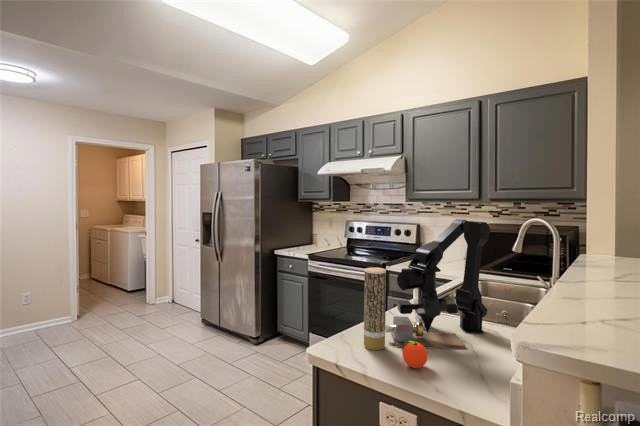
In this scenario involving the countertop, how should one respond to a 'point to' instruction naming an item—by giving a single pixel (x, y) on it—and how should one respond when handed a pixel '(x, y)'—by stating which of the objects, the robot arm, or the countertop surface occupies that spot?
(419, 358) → the clementine
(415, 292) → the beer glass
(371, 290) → the brown patterned cylinder
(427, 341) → the base board
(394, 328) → the shaft
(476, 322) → the robot arm
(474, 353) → the countertop surface
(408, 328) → the bearing block
